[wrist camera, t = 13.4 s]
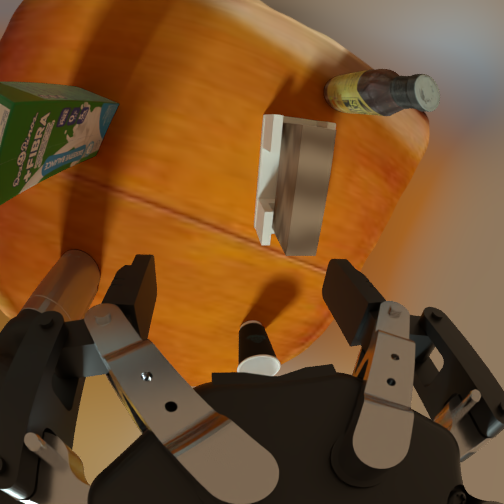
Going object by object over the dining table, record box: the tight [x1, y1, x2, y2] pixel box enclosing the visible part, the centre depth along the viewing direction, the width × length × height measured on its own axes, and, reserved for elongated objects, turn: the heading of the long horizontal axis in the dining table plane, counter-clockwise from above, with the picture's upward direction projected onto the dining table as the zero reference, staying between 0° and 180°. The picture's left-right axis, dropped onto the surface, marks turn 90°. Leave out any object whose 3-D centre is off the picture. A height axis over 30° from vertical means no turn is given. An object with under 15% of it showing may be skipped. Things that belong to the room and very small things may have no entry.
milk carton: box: [0, 82, 119, 205], centre depth 21 cm, size 9×9×25 cm
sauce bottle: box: [324, 69, 440, 116], centre depth 27 cm, size 6×6×20 cm
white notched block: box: [254, 114, 336, 245], centre depth 38 cm, size 18×9×7 cm, turn 176°
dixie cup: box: [237, 320, 280, 376], centre depth 51 cm, size 8×8×11 cm
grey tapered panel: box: [272, 123, 336, 256], centre depth 34 cm, size 16×4×9 cm, turn 175°
